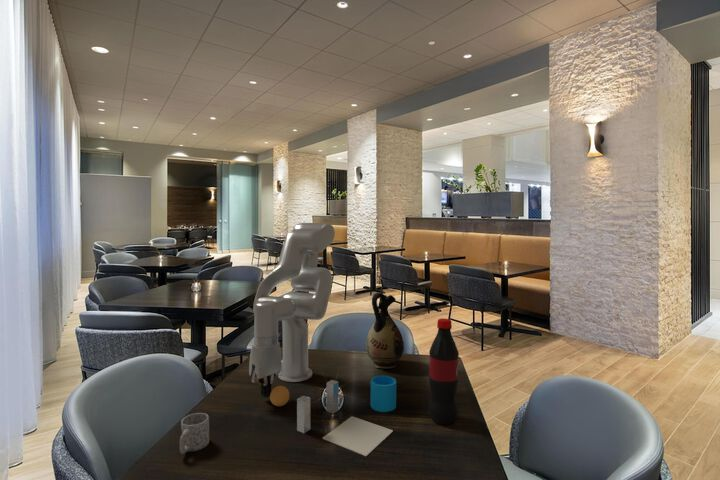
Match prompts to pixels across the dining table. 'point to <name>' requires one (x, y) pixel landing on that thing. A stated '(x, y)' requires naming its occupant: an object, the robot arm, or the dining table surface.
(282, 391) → the ball
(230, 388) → the dining table surface
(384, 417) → the dining table surface
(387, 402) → the mug
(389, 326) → the ceramic jug
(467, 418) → the dining table surface
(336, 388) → the post
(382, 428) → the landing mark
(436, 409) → the cola bottle
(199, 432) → the mug
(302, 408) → the post
